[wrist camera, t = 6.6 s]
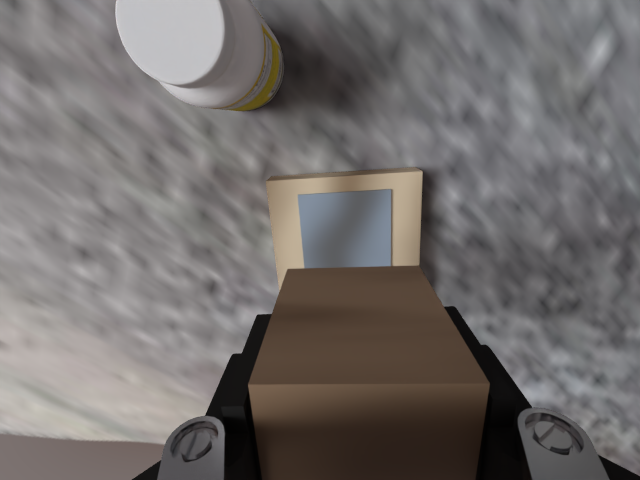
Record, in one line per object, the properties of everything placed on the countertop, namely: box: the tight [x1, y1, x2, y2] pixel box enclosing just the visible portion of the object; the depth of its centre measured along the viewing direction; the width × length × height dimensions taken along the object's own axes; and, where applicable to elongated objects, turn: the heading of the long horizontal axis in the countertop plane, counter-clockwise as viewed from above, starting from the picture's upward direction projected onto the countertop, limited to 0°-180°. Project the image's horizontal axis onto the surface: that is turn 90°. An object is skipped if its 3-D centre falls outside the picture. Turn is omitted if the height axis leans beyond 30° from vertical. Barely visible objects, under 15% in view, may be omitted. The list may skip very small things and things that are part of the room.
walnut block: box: [248, 265, 490, 480], centre depth 10 cm, size 5×5×6 cm
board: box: [266, 167, 423, 291], centre depth 24 cm, size 10×16×2 cm, turn 4°
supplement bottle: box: [115, 0, 284, 111], centre depth 16 cm, size 5×5×10 cm
